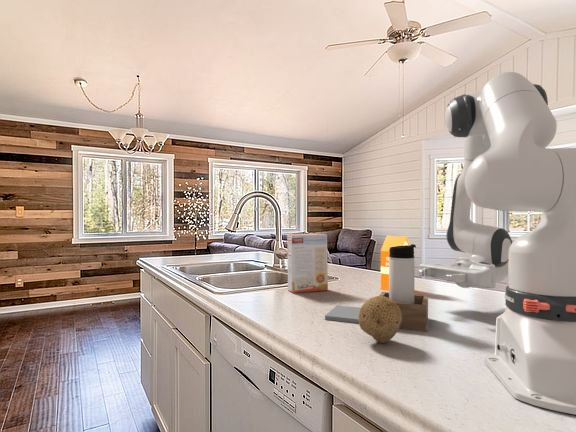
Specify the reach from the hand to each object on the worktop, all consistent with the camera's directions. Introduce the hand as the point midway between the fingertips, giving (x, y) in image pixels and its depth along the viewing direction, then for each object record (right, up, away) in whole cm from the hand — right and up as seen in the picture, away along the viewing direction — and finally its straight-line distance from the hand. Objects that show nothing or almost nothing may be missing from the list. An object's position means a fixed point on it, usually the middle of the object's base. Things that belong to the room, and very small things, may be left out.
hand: (433, 275), depth 97 cm
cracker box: (-33, -11, +34) cm, 48 cm away
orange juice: (+1, -11, +36) cm, 37 cm away
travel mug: (-10, -11, -5) cm, 16 cm away
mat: (-23, -11, 0) cm, 25 cm away
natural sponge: (-20, -11, -21) cm, 31 cm away
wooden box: (-10, -11, -5) cm, 16 cm away
